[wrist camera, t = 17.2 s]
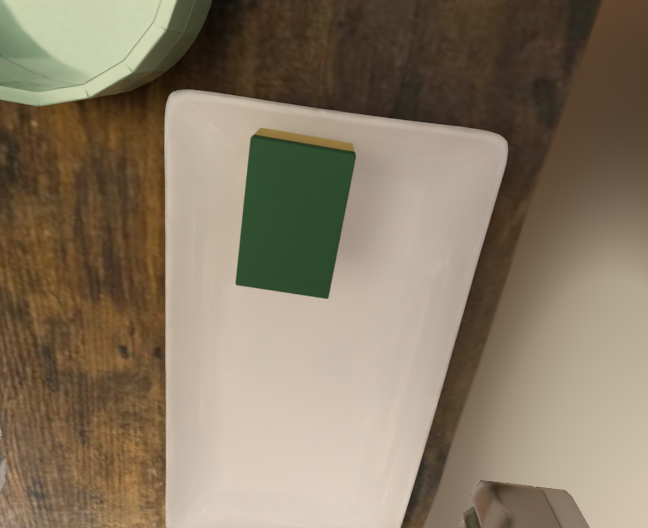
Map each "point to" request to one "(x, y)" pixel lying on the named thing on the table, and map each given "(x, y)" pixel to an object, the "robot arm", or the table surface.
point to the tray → (313, 319)
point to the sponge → (293, 212)
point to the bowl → (91, 46)
